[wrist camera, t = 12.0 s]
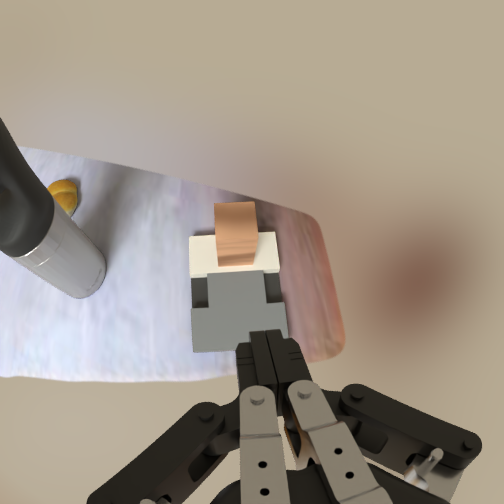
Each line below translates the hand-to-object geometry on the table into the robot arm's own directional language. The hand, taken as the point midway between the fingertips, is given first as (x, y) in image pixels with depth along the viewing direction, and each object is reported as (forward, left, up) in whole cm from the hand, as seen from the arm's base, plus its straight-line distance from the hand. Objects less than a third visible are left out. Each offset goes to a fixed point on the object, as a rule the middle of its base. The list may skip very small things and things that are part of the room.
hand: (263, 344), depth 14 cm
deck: (-4, +6, -28) cm, 29 cm away
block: (-9, +14, -26) cm, 31 cm away
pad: (-9, +13, -28) cm, 32 cm away
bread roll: (-43, +7, -28) cm, 52 cm away
